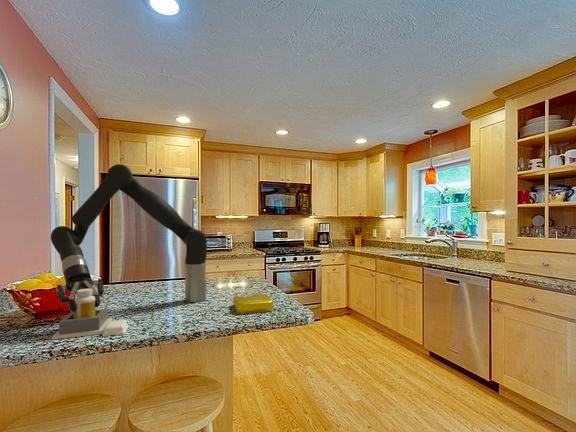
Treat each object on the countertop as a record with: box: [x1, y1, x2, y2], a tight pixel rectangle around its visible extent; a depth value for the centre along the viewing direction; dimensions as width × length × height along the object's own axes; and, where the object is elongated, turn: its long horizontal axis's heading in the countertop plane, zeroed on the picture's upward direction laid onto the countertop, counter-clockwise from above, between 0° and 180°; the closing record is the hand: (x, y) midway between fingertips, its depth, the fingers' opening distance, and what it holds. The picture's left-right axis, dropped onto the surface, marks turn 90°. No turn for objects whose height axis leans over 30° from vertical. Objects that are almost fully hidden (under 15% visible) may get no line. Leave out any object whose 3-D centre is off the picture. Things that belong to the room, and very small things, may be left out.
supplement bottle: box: [74, 289, 96, 319], centre depth 104 cm, size 6×6×11 cm
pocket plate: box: [51, 308, 113, 340], centre depth 103 cm, size 14×14×5 cm
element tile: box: [233, 293, 274, 315], centre depth 128 cm, size 15×15×5 cm
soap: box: [101, 319, 129, 337], centre depth 102 cm, size 9×7×3 cm
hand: (86, 308), depth 103 cm, fingers closed on supplement bottle, 6 cm apart
